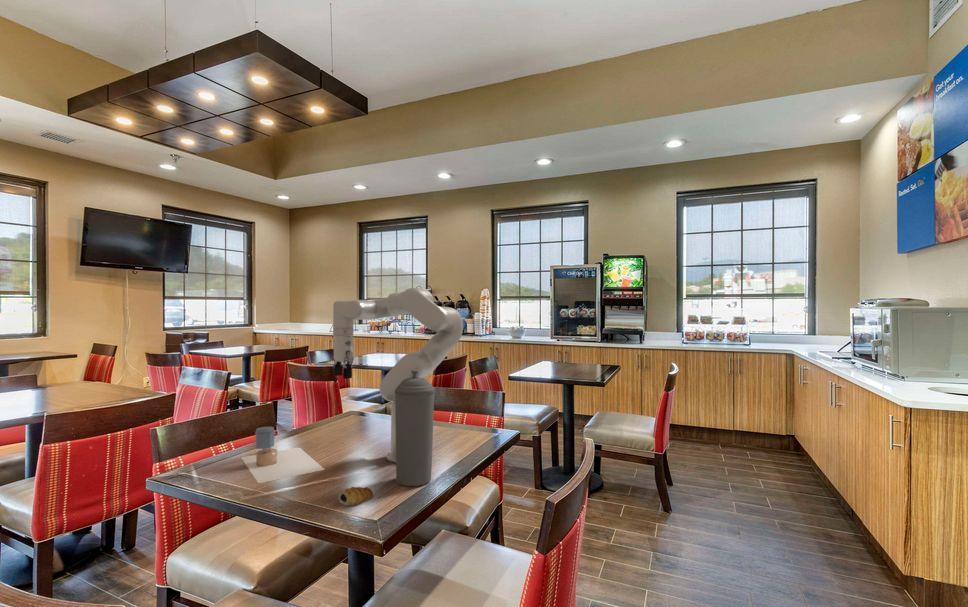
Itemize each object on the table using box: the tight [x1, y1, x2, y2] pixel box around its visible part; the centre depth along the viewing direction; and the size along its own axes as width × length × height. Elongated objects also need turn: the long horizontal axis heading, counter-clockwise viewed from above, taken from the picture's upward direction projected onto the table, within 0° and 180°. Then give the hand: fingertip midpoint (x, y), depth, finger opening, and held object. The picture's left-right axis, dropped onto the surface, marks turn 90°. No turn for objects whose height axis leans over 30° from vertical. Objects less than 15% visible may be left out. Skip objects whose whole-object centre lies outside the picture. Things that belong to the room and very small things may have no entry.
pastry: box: [337, 486, 374, 507], centre depth 125 cm, size 9×7×4 cm
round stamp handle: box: [255, 447, 278, 466], centre depth 152 cm, size 6×6×11 cm
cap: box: [254, 426, 275, 450], centre depth 152 cm, size 6×6×6 cm
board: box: [240, 447, 326, 484], centre depth 152 cm, size 30×20×1 cm, turn 38°
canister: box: [395, 370, 436, 487], centre depth 140 cm, size 13×13×35 cm
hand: (342, 376), depth 171 cm, fingers open, 9 cm apart
